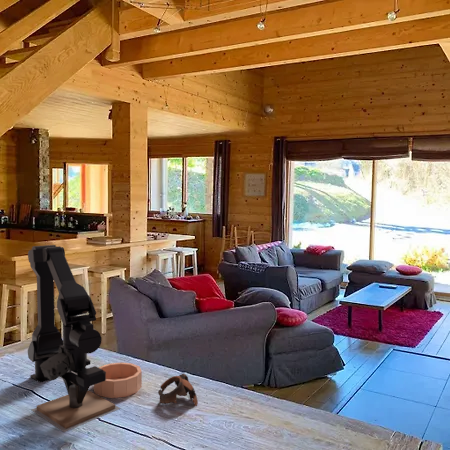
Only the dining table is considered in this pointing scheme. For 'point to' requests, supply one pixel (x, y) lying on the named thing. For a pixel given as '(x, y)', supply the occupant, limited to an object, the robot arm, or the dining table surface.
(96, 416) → the felt mat
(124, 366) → the terracotta bowl
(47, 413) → the walnut lid
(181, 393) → the brown curved piece
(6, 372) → the dining table surface
